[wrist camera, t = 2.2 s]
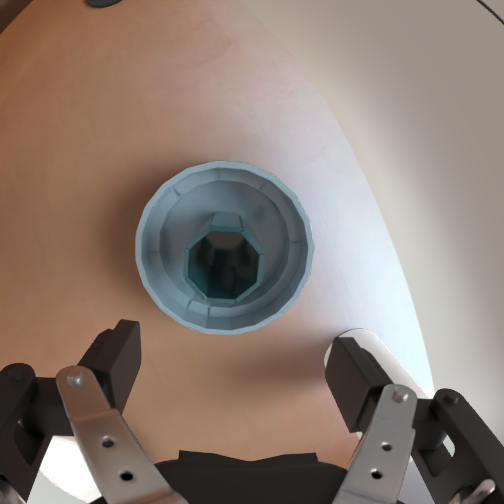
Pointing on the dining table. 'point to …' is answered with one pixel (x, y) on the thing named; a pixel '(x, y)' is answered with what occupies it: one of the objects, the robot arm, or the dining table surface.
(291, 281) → the glazed bowl
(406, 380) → the cup
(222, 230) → the teal cup
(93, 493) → the bowl
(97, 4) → the coaster
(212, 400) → the dining table surface
